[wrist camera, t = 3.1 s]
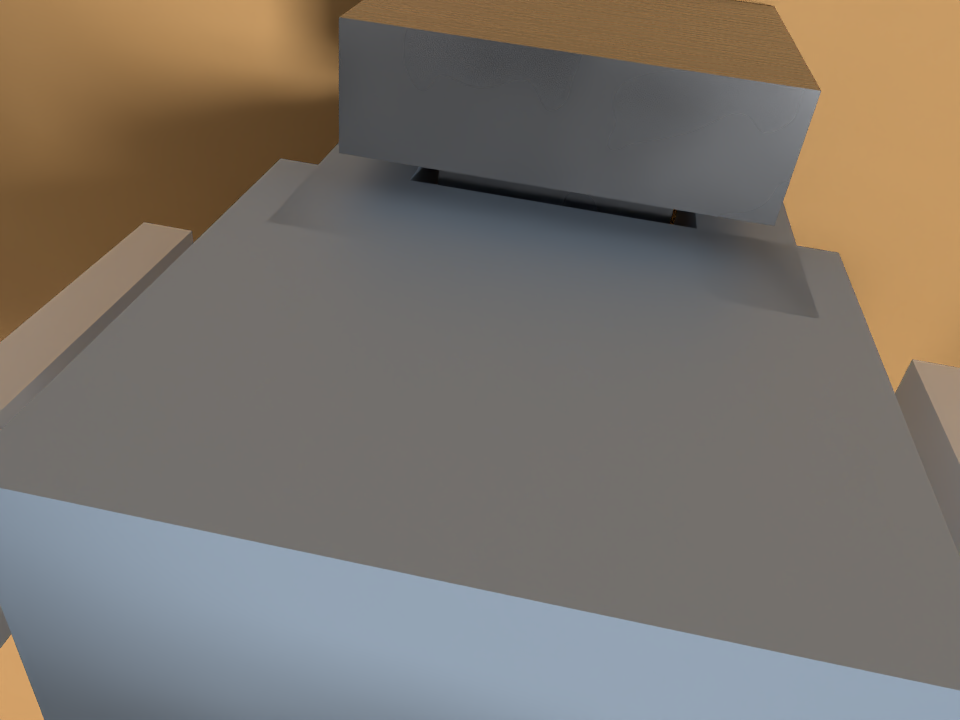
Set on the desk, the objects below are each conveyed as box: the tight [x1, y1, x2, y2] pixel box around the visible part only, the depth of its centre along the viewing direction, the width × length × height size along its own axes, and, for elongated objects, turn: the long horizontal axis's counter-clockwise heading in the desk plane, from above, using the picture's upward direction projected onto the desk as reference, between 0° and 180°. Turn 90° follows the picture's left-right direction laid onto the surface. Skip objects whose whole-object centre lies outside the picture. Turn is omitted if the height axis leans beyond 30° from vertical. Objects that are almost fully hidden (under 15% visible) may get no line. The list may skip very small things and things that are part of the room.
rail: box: [339, 0, 821, 226], centre depth 16 cm, size 22×5×4 cm, turn 174°
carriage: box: [0, 143, 960, 720], centre depth 10 cm, size 6×7×8 cm
